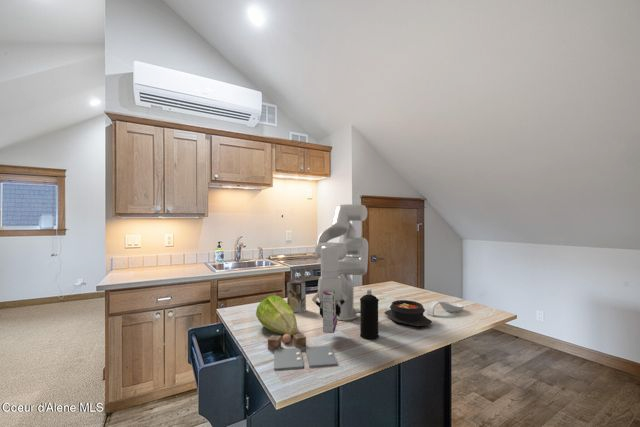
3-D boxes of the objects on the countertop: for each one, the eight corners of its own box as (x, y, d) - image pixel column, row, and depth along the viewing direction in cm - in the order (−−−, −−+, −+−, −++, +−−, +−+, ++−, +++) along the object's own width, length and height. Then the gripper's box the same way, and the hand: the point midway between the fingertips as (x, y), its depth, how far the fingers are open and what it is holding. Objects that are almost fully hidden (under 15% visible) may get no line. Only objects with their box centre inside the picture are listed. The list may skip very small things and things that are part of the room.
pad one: (330, 347, 112) (330, 345, 112) (337, 365, 98) (337, 362, 98) (305, 348, 110) (305, 346, 110) (309, 367, 97) (309, 365, 97)
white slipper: (449, 306, 165) (449, 294, 165) (468, 312, 155) (468, 299, 155) (421, 313, 154) (421, 299, 154) (439, 319, 144) (439, 305, 144)
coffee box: (306, 309, 158) (306, 281, 159) (301, 313, 152) (301, 283, 153) (291, 307, 162) (292, 279, 162) (286, 311, 156) (286, 282, 156)
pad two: (300, 349, 110) (300, 347, 110) (303, 367, 96) (303, 365, 96) (274, 351, 109) (274, 348, 109) (274, 370, 95) (274, 367, 95)
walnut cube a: (302, 343, 116) (302, 333, 116) (305, 347, 112) (306, 337, 112) (293, 344, 114) (293, 335, 114) (296, 349, 111) (296, 338, 111)
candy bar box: (326, 321, 127) (326, 285, 126) (337, 322, 126) (337, 286, 125) (322, 332, 116) (322, 293, 115) (334, 333, 115) (334, 294, 114)
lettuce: (305, 342, 127) (273, 356, 118) (280, 310, 145) (251, 320, 136) (308, 316, 122) (275, 329, 113) (282, 286, 140) (252, 295, 131)
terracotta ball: (290, 340, 118) (290, 332, 118) (291, 344, 114) (291, 335, 114) (282, 341, 117) (282, 332, 117) (282, 345, 114) (282, 336, 114)
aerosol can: (374, 341, 117) (374, 293, 118) (356, 337, 122) (356, 290, 122) (381, 334, 124) (381, 289, 125) (364, 330, 129) (364, 286, 129)
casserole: (440, 325, 136) (440, 307, 136) (415, 333, 126) (415, 314, 126) (400, 310, 157) (400, 295, 157) (376, 316, 147) (376, 300, 147)
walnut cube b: (280, 346, 113) (281, 336, 113) (277, 350, 109) (277, 340, 109) (271, 345, 114) (271, 335, 114) (267, 349, 110) (267, 339, 110)
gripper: (347, 271, 125) (347, 311, 125) (308, 273, 122) (309, 314, 123) (351, 275, 118) (352, 317, 118) (310, 277, 115) (311, 320, 115)
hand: (330, 315), depth 120 cm, fingers closed on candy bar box, 6 cm apart
